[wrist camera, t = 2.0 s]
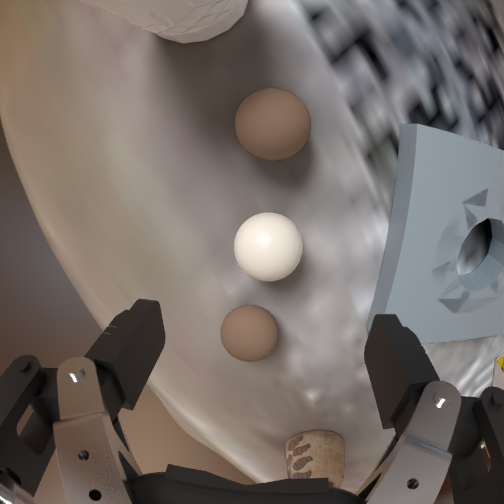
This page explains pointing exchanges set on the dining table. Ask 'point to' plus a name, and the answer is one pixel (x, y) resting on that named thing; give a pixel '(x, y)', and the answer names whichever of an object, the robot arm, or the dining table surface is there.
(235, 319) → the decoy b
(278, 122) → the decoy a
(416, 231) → the blue-grey square plate
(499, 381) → the medicine bottle
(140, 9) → the white cup
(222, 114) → the dining table surface
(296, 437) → the figurine
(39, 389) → the robot arm
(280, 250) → the ball
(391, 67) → the dining table surface
